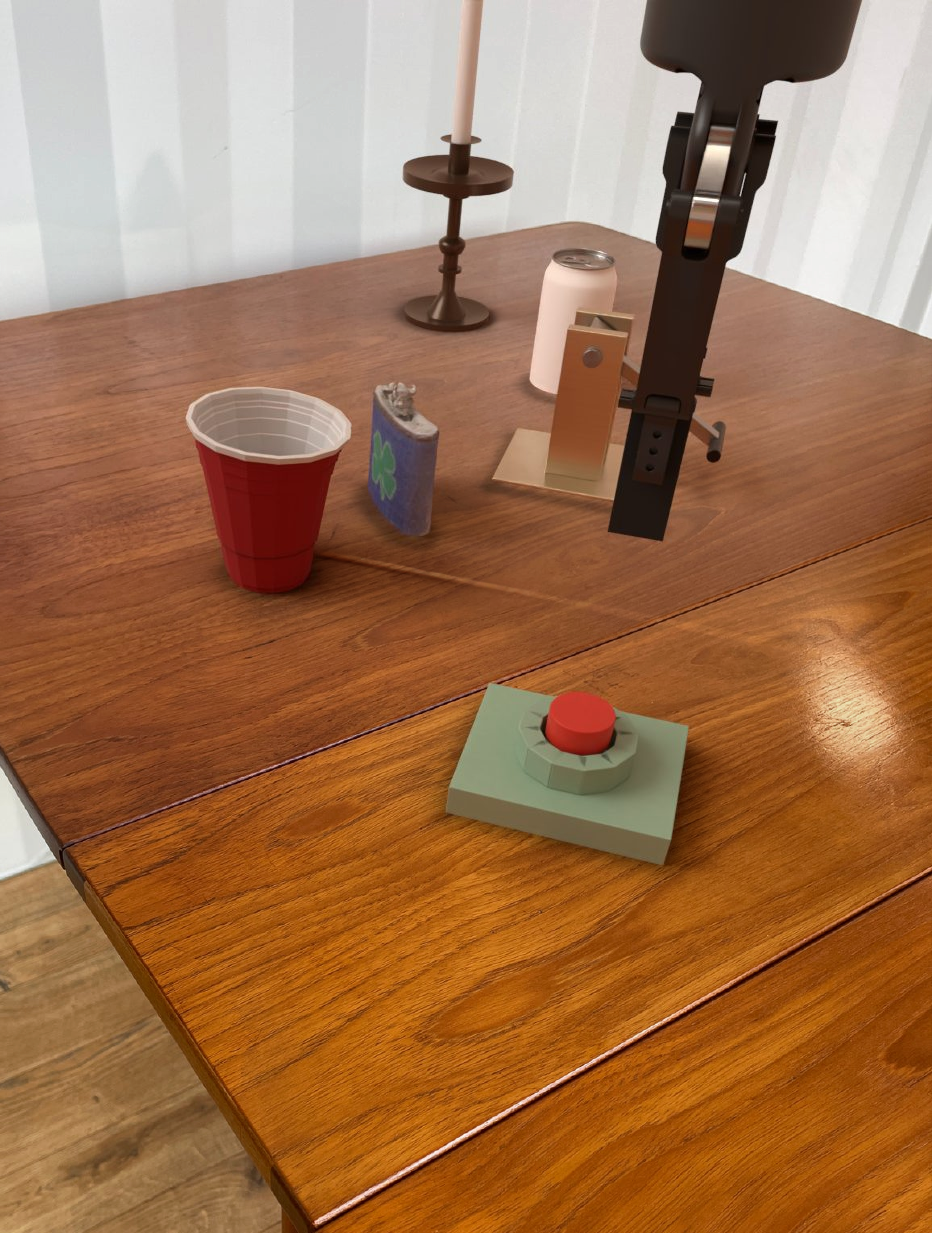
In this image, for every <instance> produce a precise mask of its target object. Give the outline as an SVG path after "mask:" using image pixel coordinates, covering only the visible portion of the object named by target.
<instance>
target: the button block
mask: <svg viewBox="0 0 932 1233" xmlns="http://www.w3.org/2000/svg"><path fill="white" fill-rule="evenodd" d="M558 696H559V695H547V694H545V693H539V692H534V691H531V690H525V689H521V688H517V687H512V686H508V685H507V686H506V685H502V684H498V683H493V682H489V683H488V684H487V688H486V690H485V693H484V696H483V699H482V700H481V702H480V706H479V708H478V711H477V714H476V716H475V719H474V721H473V724H472V726H471V728H470V732H469V734H468V737H467V739H466V741H465V745H464V747H463V749H462V753H461V755H460V757H459V760H458V763H457V765H456V767H455V770H454V773H453V775H452V778H451V780H450V783H449V785H448V790H447V799H446V809H445V813H447V814H450V815H454V816H458V817H461V818H467V819H470V820H474V821H479V822H483V823H487V824H491V825H496V826H499V827H503V828H508V829H512V830H515V831H520V832H523V833H528V834H532V835H537V836H540V837H545V838H549V839H553V840H557V841H562V842H565V843H569V844H573V845H577V846H581V847H586V848H590V849H593V850H598V851H601V852H606V853H609V854H614V855H618V856H622V857H627V858H630V859H634V860H638V861H642V862H647V863H652V864H655V865H659V866H664V865H665V862H666V858H667V855H668V852H669V850H670V849H669V848H670V845H671V842H672V837H673V832H674V825H675V820H676V813H677V807H678V800H679V794H680V788H681V781H682V775H683V768H684V762H685V755H686V750H687V744H688V737H689V736H688V735H689V730H690V726H689V725H687V724H683V723H677V722H673V721H670V720H669V721H668V720H665V719H660V718H659V719H658V718H654V717H650V716H645V715H640V714H636V713H631V712H626V711H623V710H619V709H617V708H616V707H614V706H613V705H611V706H612V707H613V709H614V711H615V714H616V720H615V724H614V728H613V733H612V737H611V741H610V744H609V746H608V747H607V749H606V750H604V751H603V752H602V753H600V754H595V755H587V756H579V755H575V754H570V753H566V752H562V751H560V750H559V749H557V748H556V747H554V746H553V745H551V744H550V742H549V741H548V739H547V737H546V733H545V730H546V725H547V719H548V714H549V709H550V705H551V703H552V701H553V700H554V699H555V698H556V697H558Z"/></svg>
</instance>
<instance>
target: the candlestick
mask: <svg viewBox="0 0 932 1233" xmlns="http://www.w3.org/2000/svg"><path fill="white" fill-rule="evenodd" d="M461 2H462V3H461V14H460V25H459V26H460V27H459V38H458V51H457V52H458V53H457V63H456V64H457V65H456V77H455V88H454V89H455V90H454V102H453V113H452V114H453V115H452V128H451V134H450V133H449V134H445V135H442V136H440V140H441V141H442V142H444V143H448V144H449V151H448V154H433V155H423V156H419V157H415V158H412V159H409V160H407V161H406V162H404V164H403V166H402V182H403V183H404V184H406V185H407V186H409V187H411V188H413V189H416V190H418V191H422V192H426V193H430V194H436V195H441V196H443V197H444V198H446V199H448V210H447V221H446V222H447V223H446V234H445V235H444V236H442V237H441V238H440V239H439V240H438V244H437V245H438V248H439V252H440V253H441V254H443V258H442V259H443V260H442V264H439V265H438V267H437V268H438V269H437V272H439V273H440V274H442V281H441V283H442V284H441V290H440V291H439V293H438V294H434V295H425V296H424V295H423V296H420V297H415V298H412V299H410V300H409V301H407V302H406V303H405V304H404V307H403V318H404V319H405V320H406V321H407V322H408V323H409V324H411V325H413V326H415V327H417V328H420V329H424V330H428V331H433V332H438V333H439V332H441V333H464V332H470V331H475V330H478V329H481V328H482V327H484V326H486V325H487V324H488V322H489V317H490V311H489V308H488V307H487V306H486V305H484V304H483V303H481V302H479V301H477V300H474V299H471V298H467V297H464V296H458V294H457V292H456V282H457V281H456V279H457V275H460V274H461V273H462V272H463V270H462V269H463V268H462V265H459V256H460V255H462V254H463V252H464V251H465V249H466V246H467V242H466V240H465V239H464V238H463V237H462V236H460V233H461V223H462V210H463V200H466V199H469V198H470V197H484V196H485V197H486V196H491V195H497V194H500V193H504V192H507V191H508V190H510V189H511V188H512V187H513V184H514V183H513V182H514V174H515V171H514V169H513V168H512V167H511V166H509V165H508V164H506V163H503V162H501V161H498V160H494V159H491V158H488V157H481V156H476V155H475V156H473V155H471V153H472V145H476V144H480V143H482V141H483V139H482V138H480V137H478V136H475V135H472V130H473V129H472V128H473V119H474V107H475V96H476V88H477V87H476V86H477V85H476V84H477V75H478V64H479V63H478V62H479V53H480V52H479V51H480V42H481V31H482V19H483V9H484V8H483V7H484V0H462V1H461Z"/></svg>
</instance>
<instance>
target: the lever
mask: <svg viewBox="0 0 932 1233" xmlns="http://www.w3.org/2000/svg"><path fill="white" fill-rule="evenodd" d="M588 327H592V328H599V329H606V330H612V329H611V328H609V327H608V326H607V325H606V324H604V323H603V322H602V321H601V320H600V319H598V318H597V317H595V318H594V319H593V321H592V322H591V323H590V324H589V326H588ZM640 368H641V367H639V366H638V365H637V364H636V363H634V362H633V360H631V359H630V358H629V357H628V356H627V357H626V356H625V355H624V358H623V363H622V368H621V373H620V375H621V376H622V377H623V379H624V380H626V381H627V382H628V383H629V384H630V385H631V386H633V387H634V388H635V389H637V384H638V379H639V373H640ZM726 430H727V426H726V424H725V422H723V421H721V420H719V421H715V422H714V423H712V425H710V423H708V422H707V421H706V420H704V419H703V417H701V416H700V415H698V414H697V413H696V411H695V412H694V413H693V417H692V421H691V425H690V429H689V433H691V434H692V435H694V436H695V437H696V438H697V439H698V440H699V441H701V442H702V443H703V444H704V445H706V446H707V449H706V455H705V457H706V460H707V462H709V463H711V464H714V463H715V464H716V463H717V462H719V461H720V460H721V457H722V454H723V447H724V441H725V435H726Z"/></svg>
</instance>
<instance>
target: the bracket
mask: <svg viewBox="0 0 932 1233" xmlns="http://www.w3.org/2000/svg"><path fill="white" fill-rule="evenodd" d="M595 317H597V318H598V319H600V320H601V321H602V322H603V323H604V324H606V325H607V326H608V327H609V328H611V329H612V330H606V329H599V328H592V327H588V326H589V324H590V323H591V322H592V321H593V319H594V318H595ZM635 318H636V314H633V313H625V312H620V311H619V312H618V311H613V310H612V311H605V310H598V309H591V308H584V307H578V309H577V311H576V317H575V323H574V325H572V324H570V325H569V327H568V329H567V335H566V341H565V348H564V354H563V360H562V367H561V373H560V379H559V385H558V392H557V394H556V398H555V405H554V410H553V418H552V424H551V431H550V432H545V431H539V430H532V429H527V428H521V427H517V428H516V430H515V432H514V434H513V436H512V438H511V439H510V442H509V444H508V446H507V448H506V450H505V451H504V453H503V456H502V458H501V459H500V462H499V464H498V466H497V468H496V469H495V472H494V474H493V476H492V478H491V481H492V482H497V483H503V484H509V485H513V486H514V485H515V486H520V487H526V488H531V489H536V490H542V491H548V492H554V493H559V494H560V493H561V494H565V495H570V496H577V497H582V498H587V499H593V500H598V501H599V500H600V501H605V502H610V503H613V502H614V497H615V492H616V487H617V482H618V476H619V471H620V466H621V461H622V456H623V451H624V446H625V444H617V443H611V439H612V436H613V435H612V434H613V430H614V424H615V420H616V414H617V409H618V401H619V397H620V394H621V391H622V384H623V379H624V378H623V377H622V376H621V375H620V373H621V368H622V363H623V358H624V355H625V356H626V357H627V358H628V353H629V349H630V344H631V338H632V334H633V328H634V323H635Z"/></svg>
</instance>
